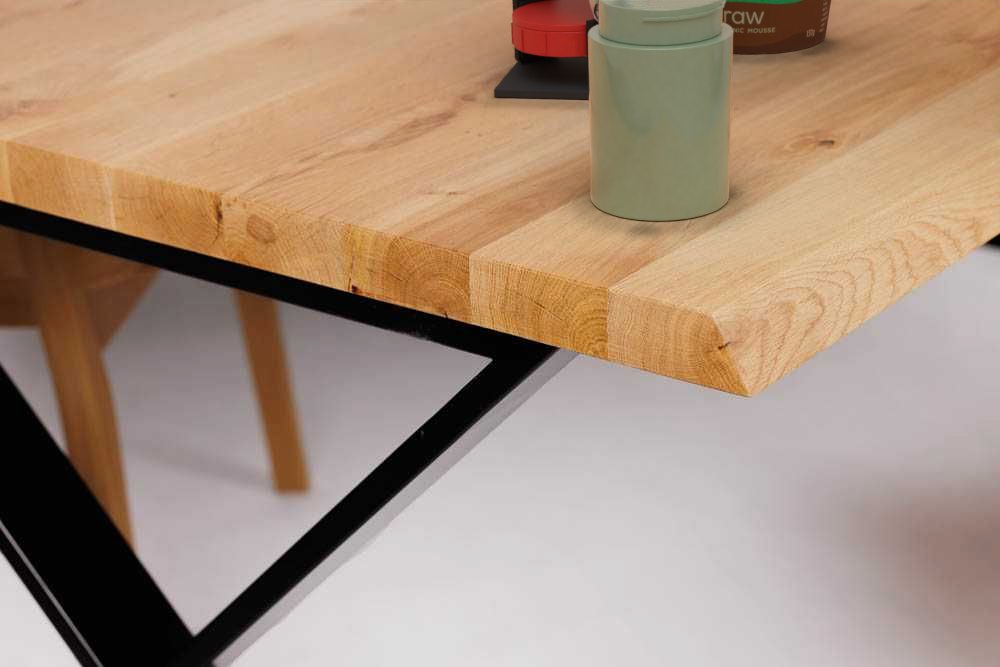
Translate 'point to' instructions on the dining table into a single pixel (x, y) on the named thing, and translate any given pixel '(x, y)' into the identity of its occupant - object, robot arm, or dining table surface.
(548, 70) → the mat
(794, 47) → the food container
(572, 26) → the lid
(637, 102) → the jar
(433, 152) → the dining table surface
